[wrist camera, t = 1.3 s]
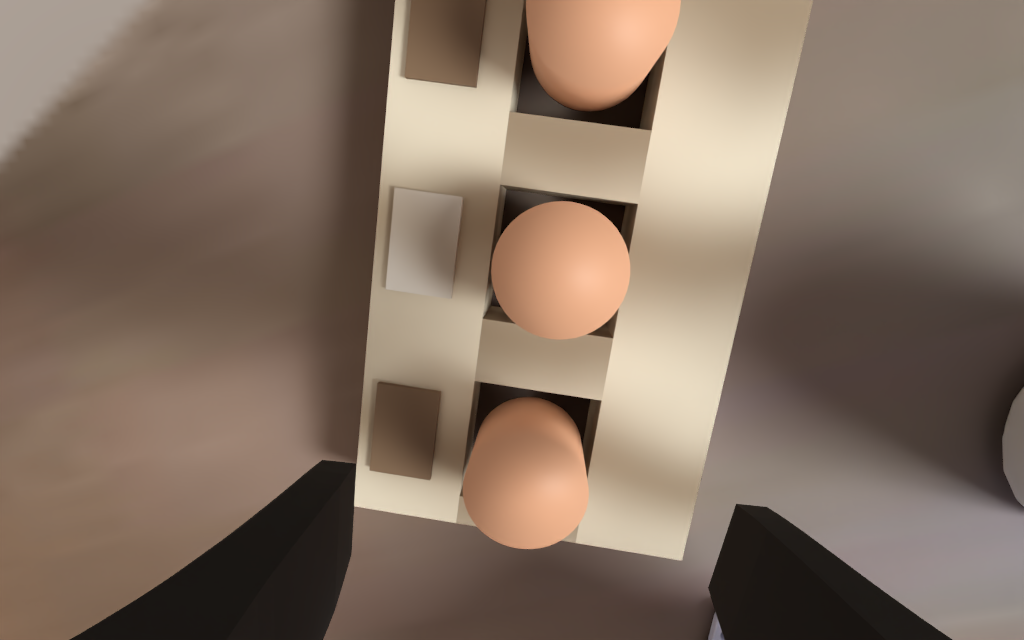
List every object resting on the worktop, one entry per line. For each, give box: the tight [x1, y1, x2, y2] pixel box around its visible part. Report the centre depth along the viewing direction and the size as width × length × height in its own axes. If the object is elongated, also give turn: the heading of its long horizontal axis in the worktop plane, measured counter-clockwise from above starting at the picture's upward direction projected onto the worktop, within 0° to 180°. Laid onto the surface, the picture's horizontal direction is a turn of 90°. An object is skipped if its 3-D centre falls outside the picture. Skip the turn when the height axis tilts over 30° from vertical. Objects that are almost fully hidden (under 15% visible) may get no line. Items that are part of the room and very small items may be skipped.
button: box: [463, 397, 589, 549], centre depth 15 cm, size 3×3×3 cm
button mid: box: [491, 201, 630, 340], centre depth 14 cm, size 3×3×3 cm
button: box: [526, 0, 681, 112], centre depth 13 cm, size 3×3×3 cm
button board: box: [354, 0, 813, 561], centre depth 16 cm, size 18×11×3 cm, turn 172°
